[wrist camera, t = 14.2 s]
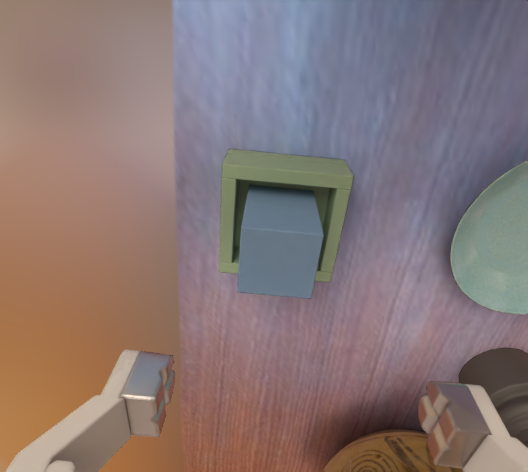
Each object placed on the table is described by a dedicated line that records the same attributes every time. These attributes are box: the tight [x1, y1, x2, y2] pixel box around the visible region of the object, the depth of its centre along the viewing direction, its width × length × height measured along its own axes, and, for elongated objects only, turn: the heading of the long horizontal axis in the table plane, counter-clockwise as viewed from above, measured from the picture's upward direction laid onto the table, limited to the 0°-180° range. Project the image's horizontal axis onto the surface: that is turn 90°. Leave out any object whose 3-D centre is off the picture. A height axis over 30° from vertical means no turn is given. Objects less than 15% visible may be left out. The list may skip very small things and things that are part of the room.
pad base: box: [219, 149, 354, 282], centre depth 22 cm, size 7×7×3 cm
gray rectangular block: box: [237, 185, 324, 299], centre depth 20 cm, size 4×4×6 cm
